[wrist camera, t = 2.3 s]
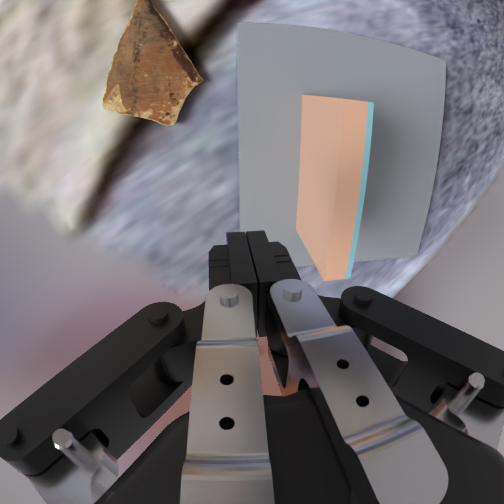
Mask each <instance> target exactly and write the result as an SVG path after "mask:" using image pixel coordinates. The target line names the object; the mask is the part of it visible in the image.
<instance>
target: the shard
mask: <svg viewBox="0 0 504 504" xmlns="http://www.w3.org/2000/svg"><path fill="white" fill-rule="evenodd" d="M201 82H203V79H202V77H201V76H200V75H199V74H198V72H197V70H196V69H195V68H194V65H193V64H192V62H191V60H190V59H189V57H188V55H187V54H186V53H185V51H184V50H183V48H182V47H181V45H180V43H179V42H178V40H177V39H176V36H175V35H174V32H173V31H172V30H171V29H170V27H169V25H168V23H167V22H166V20H165V19H164V17H163V16H162V15H161V14H160V13H159V12H158V11H157V9H156V8H155V7H154V6H153V3H152V2H151V0H138V1H137V3H136V5H135V7H134V10H133V13H132V17H131V18H130V21H129V23H128V25H127V28H126V30H125V32H124V34H123V35H122V37H121V39H120V42H119V45H118V48H117V51H116V53H115V55H114V57H113V60H112V63H111V69H110V71H109V73H108V78H107V82H106V92H105V94H104V98H103V101H102V105H103V109H106V110H109V111H114V112H117V113H119V114H125V115H130V116H137V117H141V118H145V119H150V120H154V121H157V122H158V123H161V124H163V125H167V126H170V125H175V123H176V121H177V118H178V115H179V112H180V110H181V108H182V106H183V103H184V101H185V99H186V97H187V96H188V95H189V93H190V92H191V90H192V89H193V88H194V87H195V86H197V85H198V84H200V83H201Z"/></svg>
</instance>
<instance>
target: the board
mask: <svg viewBox="0 0 504 504" xmlns="http://www.w3.org/2000/svg"><path fill="white" fill-rule="evenodd" d="M445 83H446V61H445V60H442V59H440V58H437V57H434V56H432V55H429V54H426V53H423V52H420V51H417V50H414V49H410V48H407V47H404V46H400V45H397V44H393V43H390V42H386V41H382V40H378V39H374V38H370V37H365V36H361V35H356V34H351V33H346V32H340V31H334V30H328V29H321V28H314V27H306V26H296V25H285V24H270V23H238V24H237V119H238V184H239V232H244V231H245V234H246V231H260V230H264V231H265V233H266V236H267V238H268V241H269V242H277V241H278V242H280V243H281V244H282V245H284V246H285V247H286V248H287V250H288V252H289V254H290V257H291V259H292V262H293V263H294V265H295V267H298V266H310V265H315V263H314V261H313V260H312V258H311V256H310V254H309V252H308V251H307V249H306V247H305V245H304V244H303V242H302V240H301V238H300V236H299V235H298V233H297V231H296V219H297V203H298V186H299V167H300V144H301V116H302V95H314V96H326V97H335V98H344V99H352V100H359V101H366V102H373V103H374V109H373V124H372V136H371V147H370V157H369V166H368V174H367V182H366V190H365V197H364V204H363V211H362V217H361V223H360V229H359V235H358V241H357V246H356V252H355V257H354V262H358V261H369V260H380V259H391V258H401V257H412V256H417V253H418V249H419V246H420V242H421V238H422V234H423V231H424V227H425V222H426V218H427V214H428V210H429V205H430V200H431V195H432V191H433V185H434V180H435V174H436V169H437V162H438V156H439V149H440V141H441V133H442V124H443V114H444V101H445Z"/></svg>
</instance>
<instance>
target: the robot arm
mask: <svg viewBox="0 0 504 504" xmlns="http://www.w3.org/2000/svg"><path fill="white" fill-rule="evenodd" d="M226 237H227V245H216V246H213V248H212V249H211V250H210V252H209V292H208V293H207V295H206V300H205V301H204V302H203V303H202V304H201V305H199V306H197V307H195V308H192V309H189V310H186V311H182V310H181V309H180V308H179V307H178V306H177V305H175V304H173V303H169V302H157V303H153V304H150V305H148V306H146V307H145V308H143V309H141V310H140V311H139V312H138V313H136V314H135V315H134V316H132V317H131V318H130V319H128V320H127V321H126V322H124V323H123V324H122V325H121V326H119V327H118V328H116V329H115V330H114V331H113V332H111V333H110V334H109V335H107V336H106V337H105V338H104V339H102V340H101V341H99V342H98V343H97V344H95V345H94V346H93V347H92V348H90V349H89V350H88V351H87V352H85V353H84V354H83V355H81V356H80V357H79V358H77V359H76V360H75V361H73V362H72V363H71V364H70V365H68V366H67V367H66V368H65V369H63V370H62V371H61V372H59V373H58V374H57V375H56V376H54V377H53V378H52V379H51V380H49V381H48V382H47V383H45V384H44V385H43V386H42V387H40V388H39V389H38V390H37V391H35V392H34V393H33V394H32V395H30V396H29V397H28V398H27V399H25V400H24V401H23V402H22V403H21V404H19V405H18V406H17V407H15V408H14V409H13V410H12V411H11V412H9V413H8V414H7V415H6V416H4V417H3V418H2V419H1V420H0V457H1V458H2V459H4V460H5V461H6V462H8V463H9V464H10V465H12V466H13V467H14V468H16V469H17V471H18V472H20V473H21V474H22V475H24V476H25V477H27V478H28V479H29V480H30V482H31V483H32V485H33V486H34V487H35V489H36V490H37V491H38V493H39V494H40V495H41V497H42V498H43V499H44V501H45V502H46V503H47V504H504V457H503V456H502V455H501V454H500V453H499V452H498V451H497V447H498V443H499V439H500V436H501V432H502V428H503V424H504V351H502V350H500V349H498V348H496V347H494V346H492V345H490V344H488V343H485V342H484V341H482V340H480V339H477V338H475V337H473V336H471V335H469V334H467V333H465V332H463V331H461V330H459V329H457V328H454V327H452V326H450V325H448V324H446V323H444V322H442V321H440V320H437V319H435V318H433V317H431V316H429V315H427V314H425V313H422V312H420V311H418V310H416V309H414V308H411V307H409V306H407V305H405V304H403V303H401V302H399V301H397V300H394V299H392V298H390V297H388V296H386V295H384V294H381V293H379V292H377V291H375V290H373V289H370V288H367V287H362V286H354V287H350V288H347V289H346V290H344V291H343V293H342V295H341V299H340V298H331V297H323V296H319V295H317V293H316V292H315V290H314V289H313V287H312V286H311V285H310V284H308V283H306V282H304V281H302V280H301V278H300V276H299V274H298V272H297V270H296V267H295V265H294V263H293V262H292V259H291V257H290V254H289V252H288V250H287V248H286V247H285V246H284V245H282V244H281V243H280V242H278V241H277V242H269V241H268V238H267V236H266V233H265V231H264V230H260V231H246V234H245V231H244V232H228V233H226ZM257 330H258V335H259V337H264V336H267V340H268V356H269V359H270V362H271V365H272V368H273V371H274V374H275V377H276V380H277V383H278V386H279V389H280V392H281V396H270V395H263V391H262V380H261V370H260V359H259V348H258V340H257V339H256V337H257ZM373 336H374V337H376V338H378V339H380V340H382V341H384V342H386V343H388V344H390V345H392V346H394V347H395V348H397V349H399V350H402V351H403V352H404V353H405V354H406V355H407V358H408V361H405V362H404V361H400V360H399V359H397V358H395V357H393V356H391V355H389V354H387V353H385V352H383V351H381V350H379V349H377V348H376V347H374V346H372V345H371V342H372V339H373ZM191 385H192V392H191V403H190V411H189V412H188V413H186V414H184V415H182V416H180V417H179V418H177V419H175V420H174V421H173V422H171V424H169V425H168V426H167V427H166V428H165V429H164V430H163V431H162V432H161V433H160V434H159V435H158V436H157V437H156V439H155V440H154V441H153V442H152V443H151V444H150V445H149V446H148V447H147V449H146V450H145V451H144V452H143V453H142V454H141V455H140V456H139V457H138V458H137V459H136V460H135V461H134V463H133V464H132V465H131V466H130V467H129V468H128V469H127V470H126V471H125V472H124V473H123V474H122V475H121V476H120V477H119V478H118V479H117V477H118V473H119V468H118V463H117V459H118V458H119V457H120V456H121V455H122V454H123V453H125V451H127V449H129V448H130V447H131V445H133V444H134V443H135V442H136V441H137V440H138V439H139V438H140V437H141V436H142V435H143V434H144V433H145V432H146V431H147V430H148V429H149V428H150V427H151V426H152V425H153V424H154V423H155V422H156V421H157V420H158V419H159V418H160V417H161V416H162V415H163V414H164V413H165V412H166V411H167V410H168V409H169V408H170V407H171V406H172V405H173V404H174V403H175V402H176V401H177V400H178V398H180V397H181V396H182V395H183V393H184V392H185V391H186V390H187V389H188V388H189V387H190V386H191ZM116 479H117V480H116Z"/></svg>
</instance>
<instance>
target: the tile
mask: <svg viewBox="0 0 504 504" xmlns="http://www.w3.org/2000/svg"><path fill="white" fill-rule="evenodd" d="M373 109H374V103H373V102H366V101H359V100H352V99H344V98H335V97H326V96H314V95H302V116H301V144H300V167H299V186H298V203H297V219H296V231H297V233H298V235H299V236H300V238H301V240H302V242H303V244H304V245H305V247H306V249H307V251H308V252H309V254H310V256H311V258H312V260H313V261H314V263H315V265H316V267H317V269H318V271H319V272H320V274H321V276H322V278H323V280H324V281H330V280H340V279H349V278H350V277H351V272H352V267H353V262H354V257H355V252H356V246H357V241H358V235H359V229H360V223H361V217H362V211H363V204H364V197H365V190H366V182H367V174H368V166H369V157H370V147H371V136H372V124H373Z"/></svg>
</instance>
